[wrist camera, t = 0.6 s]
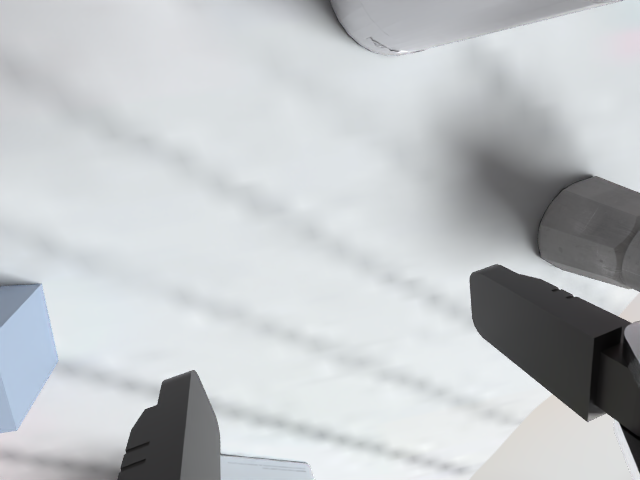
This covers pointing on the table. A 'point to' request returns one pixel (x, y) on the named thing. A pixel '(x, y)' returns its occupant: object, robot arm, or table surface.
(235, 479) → the tea box
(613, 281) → the coffeepot
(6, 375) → the blue block
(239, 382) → the table surface
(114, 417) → the table surface
